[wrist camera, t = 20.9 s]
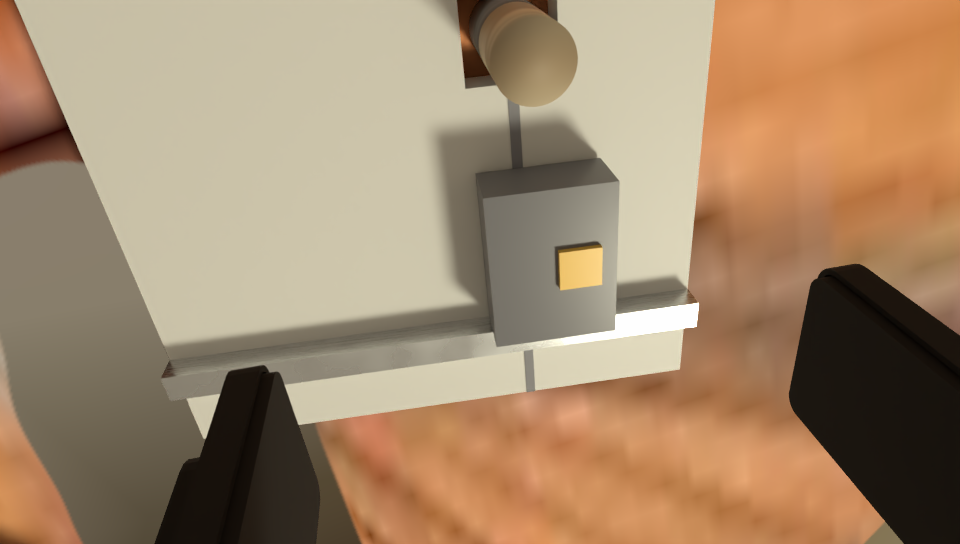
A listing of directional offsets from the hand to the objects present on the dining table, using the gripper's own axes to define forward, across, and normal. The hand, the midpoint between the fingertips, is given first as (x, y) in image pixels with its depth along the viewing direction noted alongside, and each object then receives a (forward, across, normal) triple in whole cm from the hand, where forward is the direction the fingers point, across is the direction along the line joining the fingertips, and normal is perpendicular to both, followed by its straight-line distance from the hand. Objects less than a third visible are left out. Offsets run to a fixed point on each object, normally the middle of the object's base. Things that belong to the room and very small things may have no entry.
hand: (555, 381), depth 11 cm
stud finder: (+19, -4, +8) cm, 21 cm away
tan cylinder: (+21, -3, -2) cm, 22 cm away
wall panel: (+22, +2, +6) cm, 22 cm away
